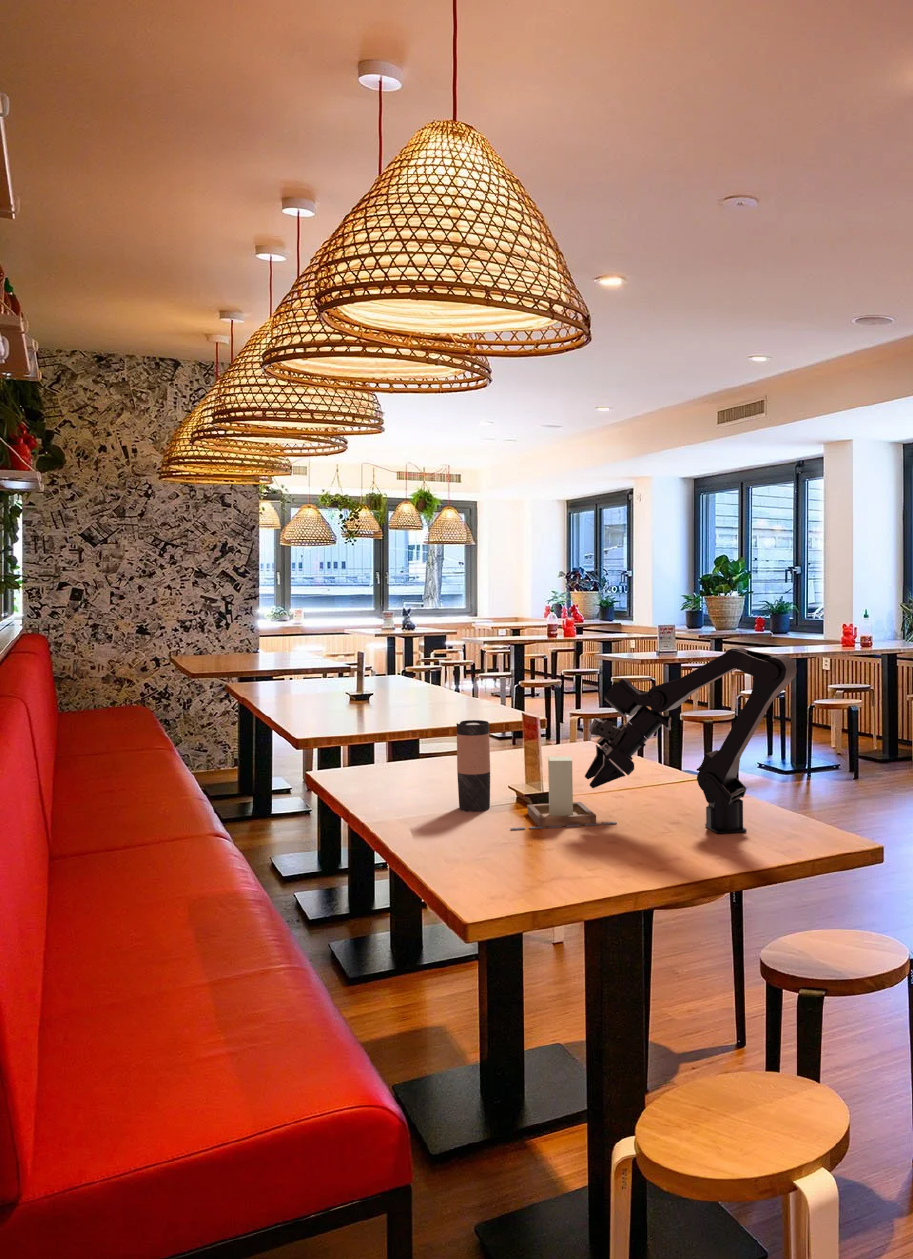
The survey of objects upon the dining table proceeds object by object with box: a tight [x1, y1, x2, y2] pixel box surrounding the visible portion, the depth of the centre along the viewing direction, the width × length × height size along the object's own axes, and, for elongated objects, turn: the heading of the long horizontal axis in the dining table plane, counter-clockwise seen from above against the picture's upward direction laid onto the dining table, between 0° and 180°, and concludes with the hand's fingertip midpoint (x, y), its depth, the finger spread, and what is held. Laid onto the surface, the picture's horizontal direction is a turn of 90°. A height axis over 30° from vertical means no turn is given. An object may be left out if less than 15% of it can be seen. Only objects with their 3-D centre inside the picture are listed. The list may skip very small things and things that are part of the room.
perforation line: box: [510, 821, 618, 831], centre depth 200 cm, size 23×1×1 cm, turn 98°
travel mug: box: [456, 719, 491, 812], centre depth 218 cm, size 8×8×20 cm
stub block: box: [547, 755, 574, 816], centre depth 206 cm, size 5×5×13 cm
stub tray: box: [526, 801, 597, 829], centre depth 207 cm, size 12×12×2 cm
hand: (588, 782), depth 206 cm, fingers open, 9 cm apart
